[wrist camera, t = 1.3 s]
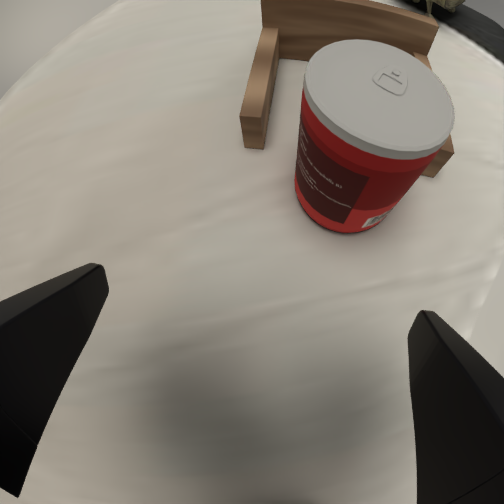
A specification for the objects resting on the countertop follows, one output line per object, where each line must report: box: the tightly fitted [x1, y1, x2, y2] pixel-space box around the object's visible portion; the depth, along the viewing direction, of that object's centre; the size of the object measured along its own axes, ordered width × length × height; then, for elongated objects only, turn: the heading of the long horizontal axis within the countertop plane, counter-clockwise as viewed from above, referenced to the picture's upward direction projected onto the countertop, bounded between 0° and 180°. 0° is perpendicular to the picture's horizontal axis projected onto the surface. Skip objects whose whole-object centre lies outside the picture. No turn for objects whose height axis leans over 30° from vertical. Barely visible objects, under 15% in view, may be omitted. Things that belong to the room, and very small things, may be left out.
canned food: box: [295, 39, 455, 233], centre depth 17 cm, size 8×8×11 cm
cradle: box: [240, 0, 454, 177], centre depth 21 cm, size 14×16×8 cm
